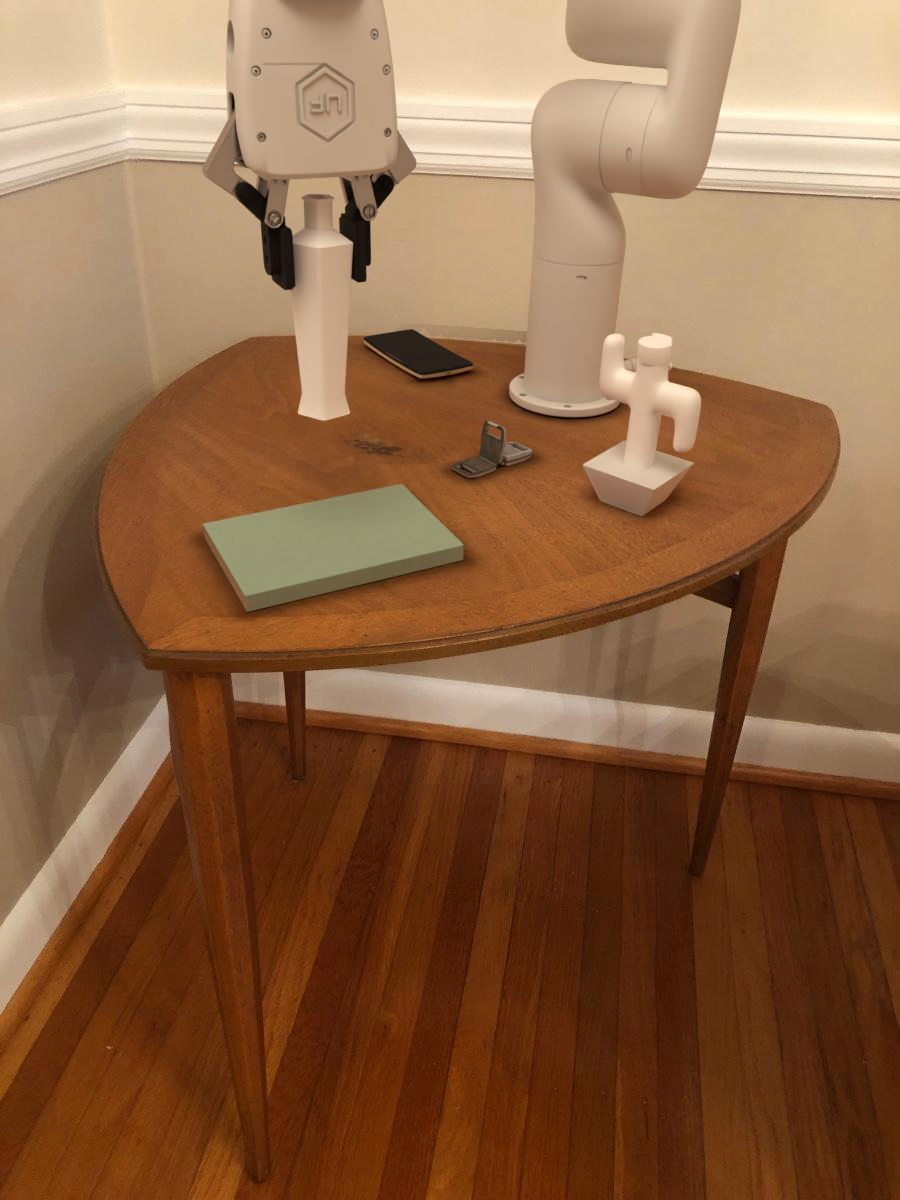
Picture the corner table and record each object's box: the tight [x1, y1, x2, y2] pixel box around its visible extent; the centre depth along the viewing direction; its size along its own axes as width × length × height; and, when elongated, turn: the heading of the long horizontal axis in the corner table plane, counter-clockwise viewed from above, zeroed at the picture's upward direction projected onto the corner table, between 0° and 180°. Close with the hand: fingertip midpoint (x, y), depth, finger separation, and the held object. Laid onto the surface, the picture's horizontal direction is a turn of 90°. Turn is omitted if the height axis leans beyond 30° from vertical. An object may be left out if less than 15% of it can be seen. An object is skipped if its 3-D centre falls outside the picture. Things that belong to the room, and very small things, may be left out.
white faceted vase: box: [289, 193, 353, 422], centre depth 67 cm, size 5×4×15 cm
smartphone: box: [362, 328, 474, 379], centre depth 116 cm, size 7×1×15 cm
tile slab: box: [202, 483, 465, 613], centre depth 77 cm, size 18×12×2 cm, turn 117°
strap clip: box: [451, 419, 533, 479], centre depth 90 cm, size 8×3×4 cm, turn 130°
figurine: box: [581, 332, 702, 517], centre depth 82 cm, size 7×9×15 cm
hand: (319, 278), depth 65 cm, fingers closed on white faceted vase, 4 cm apart
